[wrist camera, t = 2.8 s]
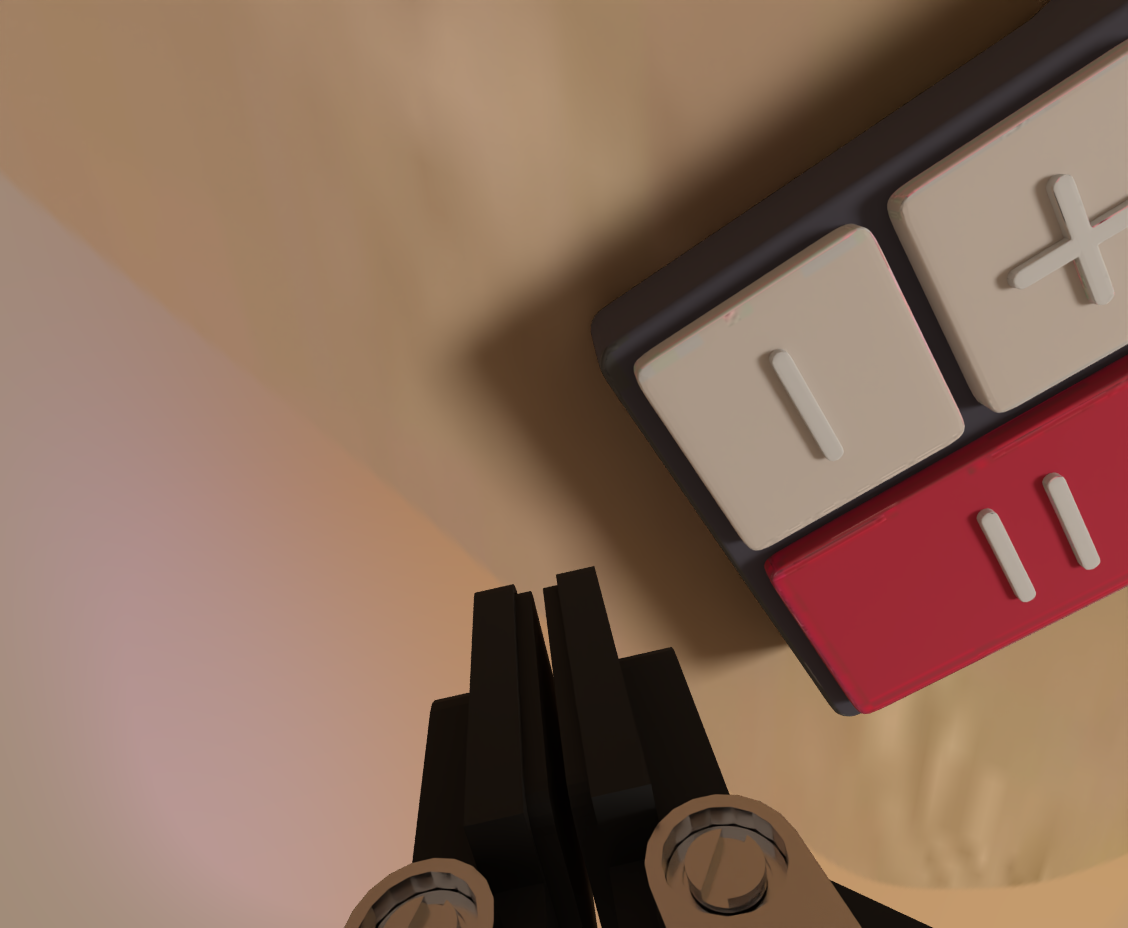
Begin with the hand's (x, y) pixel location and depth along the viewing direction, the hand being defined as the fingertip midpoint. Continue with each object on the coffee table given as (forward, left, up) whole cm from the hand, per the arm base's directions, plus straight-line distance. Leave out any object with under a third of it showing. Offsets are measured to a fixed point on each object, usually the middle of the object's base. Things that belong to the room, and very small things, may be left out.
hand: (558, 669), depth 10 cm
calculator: (-1, +11, -8) cm, 13 cm away
